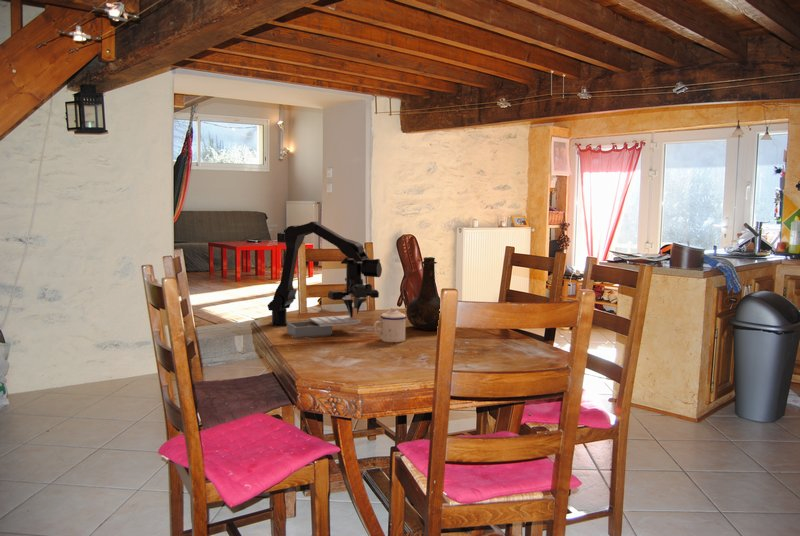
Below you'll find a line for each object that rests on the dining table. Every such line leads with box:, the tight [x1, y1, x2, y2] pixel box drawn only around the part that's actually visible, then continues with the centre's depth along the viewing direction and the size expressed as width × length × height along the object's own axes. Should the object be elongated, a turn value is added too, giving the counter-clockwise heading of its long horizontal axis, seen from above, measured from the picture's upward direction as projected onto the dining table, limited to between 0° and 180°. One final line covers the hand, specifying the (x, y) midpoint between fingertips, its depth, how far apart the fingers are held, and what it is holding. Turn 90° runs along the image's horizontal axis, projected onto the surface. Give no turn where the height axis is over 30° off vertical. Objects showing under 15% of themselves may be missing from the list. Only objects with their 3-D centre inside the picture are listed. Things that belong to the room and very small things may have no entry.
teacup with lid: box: [373, 307, 407, 343], centre depth 227 cm, size 12×9×12 cm
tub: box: [286, 320, 333, 339], centre depth 234 cm, size 10×14×4 cm
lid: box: [309, 306, 362, 327], centre depth 238 cm, size 12×16×5 cm
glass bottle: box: [405, 256, 441, 331], centre depth 249 cm, size 18×18×28 cm
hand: (353, 316), depth 242 cm, fingers closed on lid
